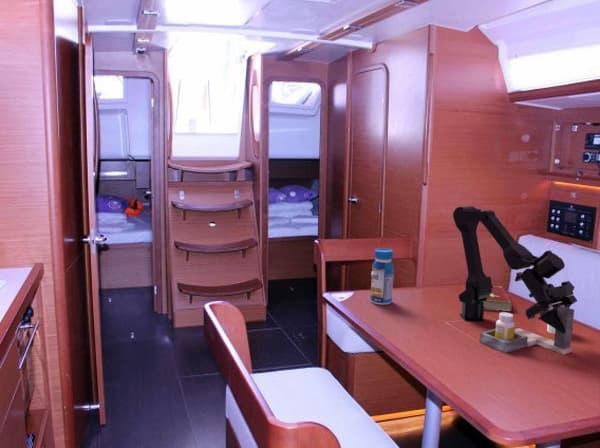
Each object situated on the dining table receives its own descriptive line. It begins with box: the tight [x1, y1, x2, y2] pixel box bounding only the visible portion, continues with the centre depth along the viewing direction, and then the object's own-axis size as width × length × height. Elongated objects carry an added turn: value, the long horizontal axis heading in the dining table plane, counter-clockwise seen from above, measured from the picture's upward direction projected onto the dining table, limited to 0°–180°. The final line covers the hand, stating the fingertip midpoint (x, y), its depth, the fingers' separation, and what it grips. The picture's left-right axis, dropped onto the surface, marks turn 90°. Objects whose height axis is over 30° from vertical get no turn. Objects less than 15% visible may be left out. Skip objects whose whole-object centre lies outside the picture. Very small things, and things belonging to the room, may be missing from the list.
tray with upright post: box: [479, 307, 575, 355], centre depth 164 cm, size 19×18×13 cm
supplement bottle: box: [495, 311, 516, 341], centre depth 166 cm, size 5×5×10 cm
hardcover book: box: [483, 285, 513, 312], centre depth 209 cm, size 12×21×4 cm, turn 169°
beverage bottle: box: [370, 247, 395, 306], centre depth 204 cm, size 8×8×20 cm
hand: (568, 332), depth 160 cm, fingers closed on tray with upright post, 3 cm apart
